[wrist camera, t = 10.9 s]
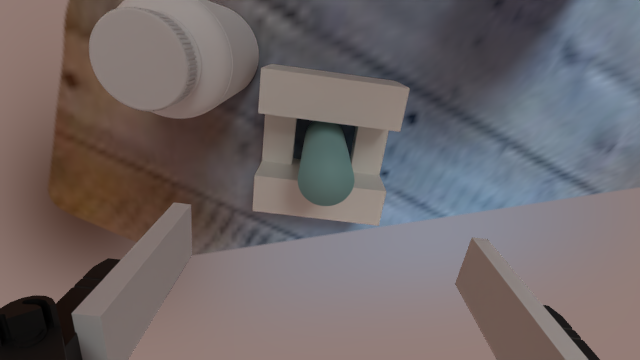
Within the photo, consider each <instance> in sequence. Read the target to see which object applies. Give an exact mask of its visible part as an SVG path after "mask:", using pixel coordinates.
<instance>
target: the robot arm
mask: <svg viewBox="0 0 640 360" xmlns="http://www.w3.org/2000/svg"><path fill="white" fill-rule="evenodd" d="M191 256H192V223H191V204H183V203H173V204H172V205H171V206H170V207H169V208H168V210H167V211H166V212H165V213H164V214H163V215H162V216H161V217H160V218H159V219H158V220H157V221H156V223H155V224H154V225H153V226H152V227H151V228H150V229H149V230H148V231H147V232H146V233H145V234H144V236H143V237H142V238H141V239H140V240H139V241H138V242H137V243H136V244H135V245H134V246H133V247H132V249H131V250H130V251H129V252H128V253H127V254H126V255H125V256H124V257H123V258H122V259H121V260H117V259H107V260H105V261H103V262H101V263H99V264H98V265H96V266H94V267H93V268H92V269H91V270H90V271H89V272H88V273H87V274H86V275H85V276H84V277H83V279H81V280H80V281H79V282H78V283H77V284H75V286H74V288H71V289H70V290H69V292H67V293H66V294H65V295H64V296H63V297H62V298H61V299H60V300H59V301H58V302H57V303H56V304H55V302H54V301H53V299H52V298H49V297H47V296H30V297H25V298H21V299H18V300H16V301H13V302H10V303H9V304H7V305H5V306H4V307H2V308H0V360H128V359H129V357H130V356H131V354H132V352H133V351H134V349H135V348H136V346H137V344H138V343H139V341H140V339H141V338H142V336H143V334H144V333H145V331H146V330H147V328H148V326H149V325H150V323H151V321H152V320H153V318H154V316H155V315H156V313H157V312H158V310H159V308H160V307H161V305H162V303H163V302H164V300H165V298H166V297H167V295H168V294H169V292H170V290H171V289H172V287H173V285H174V284H175V282H176V280H177V279H178V277H179V276H180V274H181V272H182V271H183V269H184V267H185V266H186V264H187V262H188V261H189V259H190V258H191ZM455 285H456V286H457V288H458V290H459V292H460V294H461V295H462V297H463V299H464V301H465V303H466V305H467V306H468V308H469V310H470V312H471V313H472V315H473V317H474V319H475V321H476V323H477V324H478V326H479V328H480V330H481V332H482V334H483V335H484V337H485V339H486V341H487V343H488V345H489V346H490V348H491V350H492V352H493V353H494V355H495V357H496V359H497V360H600V359H599V358H598V357H597V356H596V355H595V353H594V352H593V351H592V350H591V349H590V348H589V347H588V346H587V344H586V343H585V342H584V341H583V340H581V338H580V336H579V335H578V334H577V333H576V332H575V331H574V330H572V327H571V326H570V325H569V324H568V323H567V321H566V320H565V319H564V318H563V317H562V316H561V315H560V314H558V313H557V312H556V311H554V310H553V309H552V308H550V307H549V306H546V305H542V304H541V302H540V301H539V300H538V299H537V298H536V296H535V295H534V294H533V293H532V292H531V291H530V289H529V288H528V287H527V286H526V285H525V284H524V282H523V281H522V280H521V279H520V277H519V276H518V275H517V274H516V273H515V271H514V270H513V269H512V268H511V267H510V265H509V264H508V263H507V262H506V261H505V260H504V258H503V257H502V256H501V255H500V254H499V252H498V251H497V250H496V249H495V248H494V246H493V245H492V244H491V243H490V242H489V240H488V239H480V238H472V239H471V242H470V244H469V247H468V250H467V253H466V256H465V258H464V261H463V264H462V267H461V269H460V272H459V275H458V278H457V280H456V283H455Z"/></svg>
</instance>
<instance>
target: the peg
mask: <svg viewBox="0 0 640 360" xmlns="http://www.w3.org/2000/svg"><path fill="white" fill-rule="evenodd" d="M298 186H299V189H300V191H301V193H302V195H303V196H304V197H305V198H306V199H307V200H308V201H310V202H311V203H313V204H316V205H320V206H332V205H336V204H338V203H340V202H342V201H344V200H345V199H346V198H347V197H348V196H349V195H350V193H351V191H352V189H353V187H354V173H353V169H352V165H351V161H350V157H349V153H348V149H347V145H346V141H345V137H344V133H343V129H342V127H341V126H340V124H337V123H329V122H322V121H313V122H312V123H310V125H309V126H308V128H307V130H306V134H305V139H304V145H303V151H302V156H301V162H300V167H299V173H298Z"/></svg>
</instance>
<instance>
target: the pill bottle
mask: <svg viewBox="0 0 640 360" xmlns="http://www.w3.org/2000/svg"><path fill="white" fill-rule="evenodd" d="M89 56H90V61H91V65H92V68H93V70H94V73H95V75H96V77H97V79H98V80H99V82H100V83H101V85H102V86H103V87H104V88H105V90H106V91H107V92H108V93H109V94H110V95H111V96H113V97H114V98H115V99H116V100H118V101H119V102H121V103H122V104H124V105H126V106H128V107H131V108H133V109H136V110H141V111H146V112H149V111H150V112H152V113H155V114H157V115H160V116H164V117H169V118H175V119H187V118H193V117H197V116H200V115H202V114H205V113H207V112H208V111H210V110H212V109H213V108H215V107H216V106H218V105H220V104H221V103H223V102H224V101H226V100H227V99H229V98H230V97H232V96H233V95H235V94H237V93H238V92H240V91H241V90H243V89H244V88H245V87H246V86H247V85H248V84H249V83H250V82H251V80H252V79H253V77H254V75H255V73H256V70H257V67H258V62H259V49H258V44H257V40H256V37H255V35H254V33H253V31H252V29H251V28H250V26H249V25H248V24H247V22H246V21H245V20H244V19H243V18H242V17H241V16H240V15H238V14H237V13H236V12H234V11H233V10H231V9H229V8H227V7H224V6H222V5H219V4H216V3H213V2H210V1H208V0H124V1H123V2H122V3H121V4H120V5H119V6H118V7H117V8H116V9H115V10H111V12H107V14H105V15H103V17H102V18H100V19H99V21H98V22H97V23H96V25H95V26H94V29H93V30H92V33H91V36H90V41H89Z"/></svg>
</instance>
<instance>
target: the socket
mask: <svg viewBox="0 0 640 360" xmlns="http://www.w3.org/2000/svg"><path fill="white" fill-rule="evenodd" d="M409 90H410V88H408V87H406V86H404V85H402V84H400V83H398V82H396V81H393V80H386V79H379V78H372V77H364V76H357V75H350V74H343V73H335V72H328V71H321V70H314V69H306V68H299V67H292V66H285V65H277V64H270V65H267V66H264V67H262V68H261V76H260V93H259V109H258V113H260V114H265V123H264V138H263V153H262V162H261V164H260V166H259V168H258V170H257V172H256V174H255V176H254V193H253V210H252V211H257V212H266V213H274V214H283V215H291V216H300V217H308V218H317V219H326V220H334V221H343V222H351V223H360V224H368V225H377V226H379V222H380V218H381V213H382V209H383V204H384V200H385V196H386V189H385V187H384V185H383V183H382V180H381V178H380V176H379V174H380V170H381V165H382V160H383V156H384V151H385V146H386V142H387V137H388V132H389V130H391V131H398V132H400V130H401V125H402V121H403V117H404V112H405V108H406V103H407V99H408V95H409ZM297 118H299V119H306V120H314V121H322V122H329V123H337V124H345V125H352V126H356V127H355V132H354V138H353V144H352V150H351V155H350V161H351V165H352V169H353V173H354V187H353V189H352V191H351V193H350V195H349V196H348V197H347V198H346V199H345V200H344V201H342V202H340V203H338V204H336V205H332V206H320V205H316V204H313V203H311V202H310V201H308V200H307V199H306V198H305V197H304V196H303V195H302V193H301V191H300V189H299V186H298V173H299V167H300V162H301V159H296V158H293V156H294V146H295V137H296V127H297Z"/></svg>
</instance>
